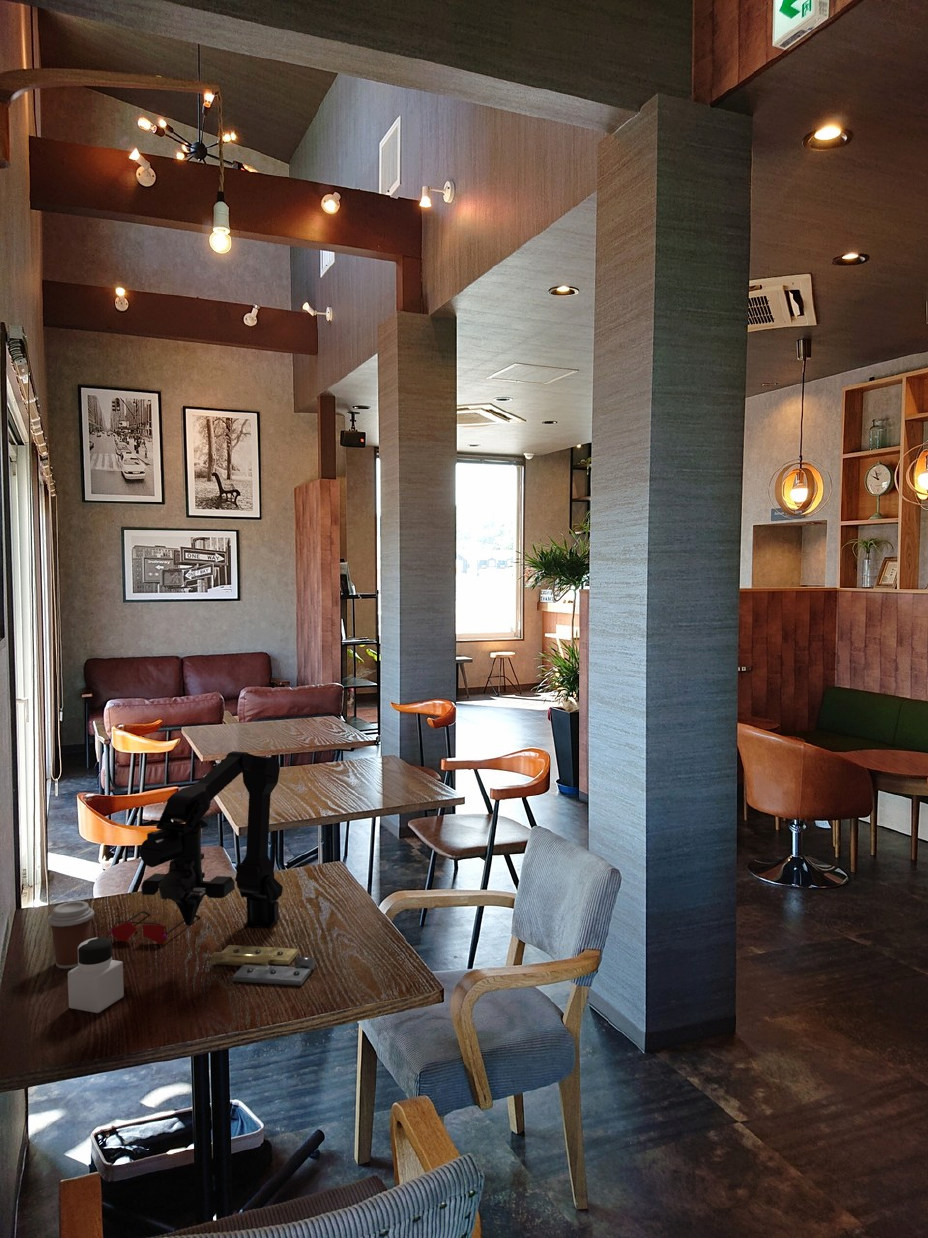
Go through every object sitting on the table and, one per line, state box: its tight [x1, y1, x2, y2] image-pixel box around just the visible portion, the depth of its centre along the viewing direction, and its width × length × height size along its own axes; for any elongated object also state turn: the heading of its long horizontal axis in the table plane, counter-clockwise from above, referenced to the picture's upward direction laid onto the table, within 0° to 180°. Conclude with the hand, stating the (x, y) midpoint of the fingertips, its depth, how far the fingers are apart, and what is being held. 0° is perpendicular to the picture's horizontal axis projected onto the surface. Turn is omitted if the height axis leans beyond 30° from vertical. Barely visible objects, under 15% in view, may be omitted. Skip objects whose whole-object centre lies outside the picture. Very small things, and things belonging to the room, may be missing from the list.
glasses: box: [109, 910, 202, 945], centre depth 202 cm, size 14×16×5 cm
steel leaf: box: [232, 956, 316, 987], centre depth 177 cm, size 14×8×2 cm, turn 80°
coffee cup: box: [47, 900, 95, 970], centre depth 184 cm, size 9×9×12 cm
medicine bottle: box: [67, 936, 125, 1014], centre depth 166 cm, size 7×7×12 cm
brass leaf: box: [210, 944, 299, 967], centre depth 184 cm, size 16×8×2 cm, turn 80°
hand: (189, 925), depth 183 cm, fingers closed
